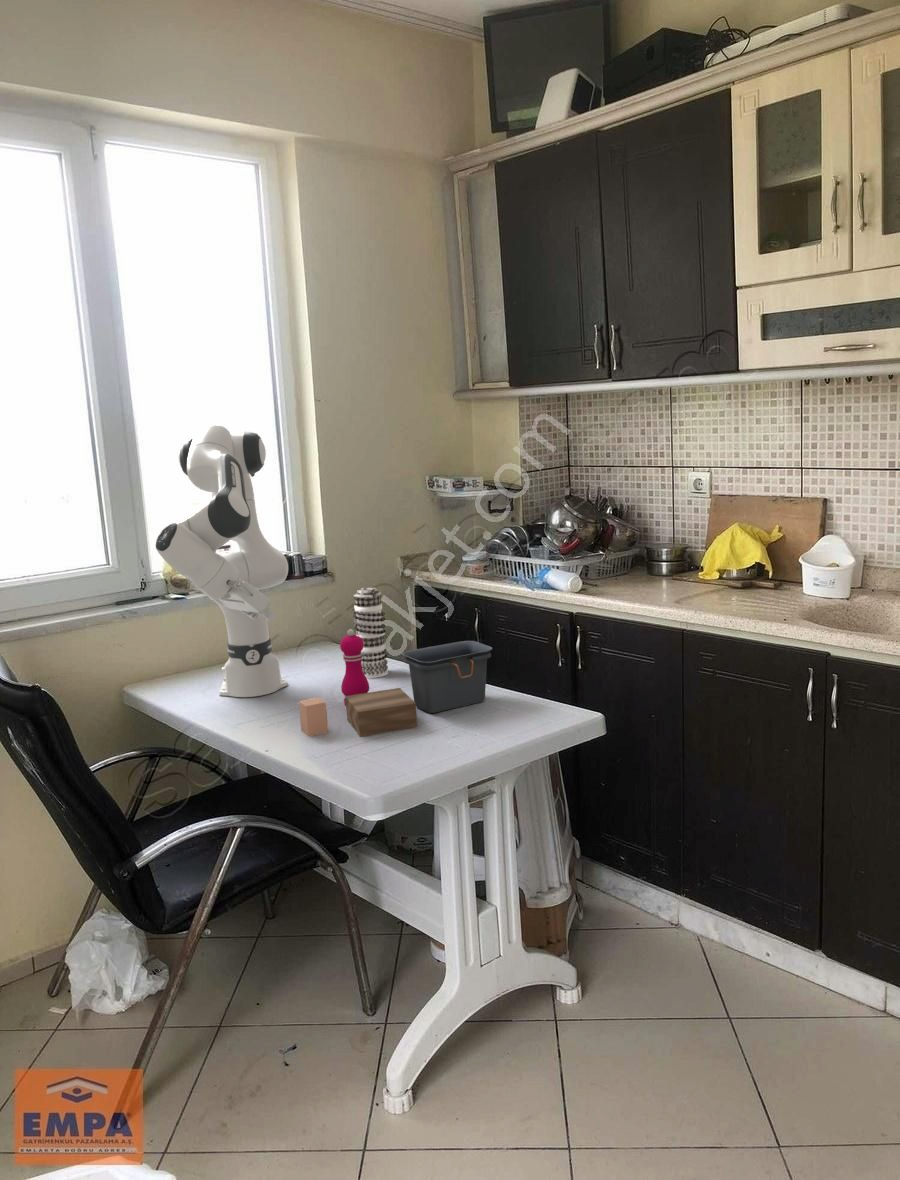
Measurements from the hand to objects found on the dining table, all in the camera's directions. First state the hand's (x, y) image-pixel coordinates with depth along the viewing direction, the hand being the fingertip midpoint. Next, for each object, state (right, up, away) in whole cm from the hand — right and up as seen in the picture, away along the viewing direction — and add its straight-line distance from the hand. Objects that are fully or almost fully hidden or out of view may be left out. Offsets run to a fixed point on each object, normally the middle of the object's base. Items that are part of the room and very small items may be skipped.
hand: (264, 618), depth 217 cm
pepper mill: (+18, -23, +30) cm, 42 cm away
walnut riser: (+26, -26, +13) cm, 39 cm away
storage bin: (+43, -23, +24) cm, 54 cm away
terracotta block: (+10, -27, +10) cm, 31 cm away
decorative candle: (+20, -18, +57) cm, 63 cm away
